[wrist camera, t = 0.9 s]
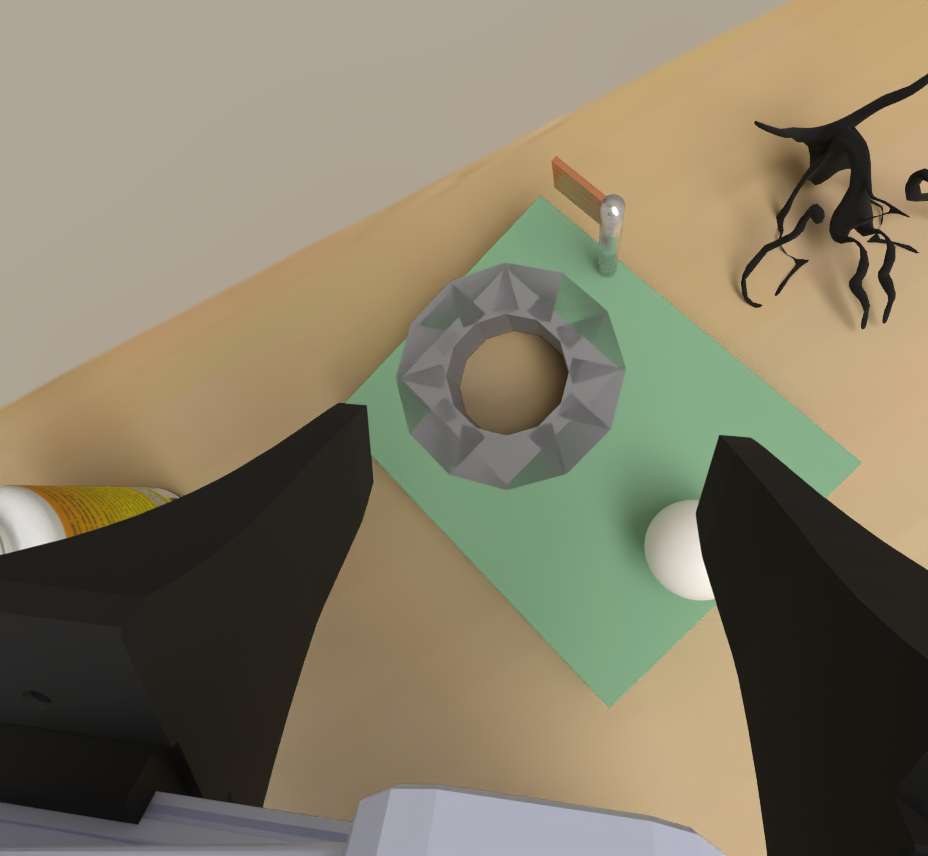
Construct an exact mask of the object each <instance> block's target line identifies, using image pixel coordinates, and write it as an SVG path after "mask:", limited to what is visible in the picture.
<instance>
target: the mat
mask: <svg viewBox="0 0 928 856" xmlns="http://www.w3.org/2000/svg"><path fill="white" fill-rule="evenodd" d="M598 260H599V244H598V243H597V242H596V241H595V240H594V239H592V238H591V237H590V236H589V235H588V234H586V233H585V232H584V231H583V230H582V229H580V228H579V227H578V226H577V225H576V224H574V223H573V222H572V221H571V220H570V219H568V218H567V217H566V216H565V215H564V214H562V213H561V212H560V211H559V210H558V209H556V208H555V207H554V206H553V205H552V204H550V203H549V202H548V201H547V200H546V199H544V198H543V197H542V196H540V197H539V198H538V199H537V200H536V201H535V202H534V203H533V204H532V205H531V206H530V207H529V209H528V210H527V211H526V212H525V213H524V214H523V215H522V216H521V217H520V218H519V219H518V220H517V221H516V222H515V223H514V224H513V225H512V227H511V228H510V229H509V230H508V231H507V232H506V233H505V234H504V235H503V236H502V237H501V238H500V239H499V240H498V241H497V242H496V244H495V245H494V246H493V247H492V248H491V249H490V250H489V251H488V252H487V253H486V254H485V255H484V256H483V257H482V258H481V259H480V260H479V262H478V263H477V264H476V265H475V266H474V267H473V268H472V269H471V270H470V271H469V272H468V273H467V274H466V275H465V276H464V277H461V278H458V279H455V280H452V281H450V282H449V283H448V284H447V285H446V286H445V287H444V288H443V290H442V291H441V292H440V293H439V294H438V295H437V296H436V297H435V298H434V299H433V300H432V301H431V302H430V303H429V304H428V305H427V306H426V308H425V309H424V310H423V311H422V312H421V313H420V314H419V315H418V316H417V317H416V318H415V319H414V320H413V321H412V322H411V324H410V328H409V331H408V335H407V338H406V339H405V340H404V341H403V342H402V343H401V344H400V345H399V346H398V347H397V348H396V350H395V351H394V352H393V353H392V354H391V355H390V356H389V357H388V358H387V359H386V360H385V361H384V362H383V363H382V364H381V365H380V367H379V368H378V369H377V370H376V371H375V372H374V373H373V374H372V375H371V376H370V377H369V378H368V379H367V380H366V381H365V382H364V383H363V385H362V386H361V387H360V388H359V389H358V390H357V391H356V392H355V393H354V394H353V395H352V396H351V397H350V398H349V399H348V400H347V402H346V403H347V404H359V405H367V412H368V424H369V436H370V447H371V455H372V457H373V458H374V459H375V460H376V461H377V462H378V463H379V464H380V465H381V466H382V467H383V468H384V469H385V470H386V471H387V473H388V474H389V475H390V476H391V477H392V478H393V479H394V480H395V481H396V482H397V483H398V484H399V485H400V486H401V487H402V488H403V490H404V491H405V492H406V493H407V494H408V495H409V496H410V497H411V498H412V499H413V500H414V501H415V502H416V503H417V504H418V505H419V507H420V508H421V509H422V510H423V511H424V512H425V513H426V514H427V515H428V516H429V517H430V518H431V519H432V520H433V521H434V523H435V524H436V525H437V526H438V527H439V528H440V529H441V530H442V531H443V532H444V533H445V534H446V535H447V536H448V537H449V538H450V540H451V541H452V542H453V543H454V544H455V545H456V546H457V547H458V548H459V549H460V550H461V551H462V552H463V553H464V554H465V555H466V557H467V558H468V559H469V560H470V561H471V562H472V563H473V564H474V565H475V566H476V567H477V568H478V569H479V570H480V571H481V573H482V574H483V575H484V576H485V577H486V578H487V579H488V580H489V581H490V582H491V583H492V584H493V585H494V586H495V587H496V588H497V590H498V591H499V592H500V593H501V594H502V595H503V596H504V597H505V598H506V599H507V600H508V601H509V602H510V603H511V604H512V605H513V607H514V608H515V609H516V610H517V611H518V612H519V613H520V614H521V615H522V616H523V617H524V618H525V619H526V620H527V621H528V623H529V624H530V625H531V626H532V627H533V628H534V629H535V630H536V631H537V632H538V633H539V634H540V635H541V636H542V637H543V638H544V640H545V641H546V642H547V643H548V644H549V645H550V646H551V647H552V648H553V649H554V650H555V651H556V652H557V653H558V654H559V655H560V657H561V658H562V659H563V660H564V661H565V662H566V663H567V664H568V665H569V666H570V667H571V668H572V669H573V670H574V671H575V673H576V674H577V675H578V676H579V677H580V678H581V679H582V680H583V681H584V682H585V683H586V684H587V685H588V686H589V687H590V688H591V690H592V691H593V692H594V693H595V694H596V695H597V696H598V697H599V698H600V699H601V700H602V701H603V702H604V703H605V704H606V705H607V707H608V708H610V707H611V706H612V705H613V704H614V703H615V702H616V701H617V700H618V699H619V698H620V697H621V696H622V695H623V694H624V693H625V692H626V691H627V690H628V689H629V688H630V687H631V686H632V685H633V684H634V683H636V682H637V681H638V680H639V679H640V678H641V677H642V676H643V675H644V674H645V673H646V672H647V671H648V670H649V669H650V668H651V667H652V666H653V665H654V664H655V663H656V662H657V661H658V660H659V659H660V658H661V657H662V656H663V655H664V654H665V653H666V652H668V651H669V650H670V649H671V648H672V647H673V646H674V645H675V644H676V643H677V642H678V641H679V640H680V639H681V638H682V637H683V636H684V635H685V634H686V633H687V632H688V631H689V630H690V629H691V628H692V627H693V626H694V625H695V624H696V623H697V622H698V621H699V620H701V619H702V618H703V617H704V616H705V615H706V614H707V613H708V612H709V611H710V610H711V609H712V608H713V607H714V606H715V605H716V601H715V599H712V600H702V601H698V600H691V599H686V598H683V597H680V596H678V595H676V594H674V593H672V592H671V591H669V590H668V589H666V588H665V587H664V586H663V585H661V584H660V583H659V582H658V580H657V579H656V578H655V577H654V575H653V574H652V572H651V570H650V568H649V566H648V564H647V561H646V556H645V550H644V542H645V536H646V532H647V529H648V527H649V525H650V523H651V522H652V520H653V519H654V517H655V516H656V515H657V514H658V513H659V512H660V511H661V510H663V509H664V508H666V507H667V506H669V505H671V504H673V503H676V502H679V501H684V500H693V499H694V500H700V497H701V493H702V490H703V487H704V483H705V480H706V477H707V474H708V470H709V467H710V464H711V460H712V457H713V454H714V450H715V447H716V444H717V441H718V437H719V435H727V436H739V437H751V438H753V439H754V440H755V441H757V442H758V443H759V444H761V445H762V446H763V447H765V448H766V449H767V450H768V451H769V452H771V453H772V454H773V455H774V456H775V457H777V458H778V459H779V460H780V461H781V462H783V463H784V464H785V465H786V466H787V467H789V468H790V469H791V470H792V471H793V472H794V473H796V474H797V475H798V476H799V477H800V478H802V479H803V480H804V481H805V482H806V483H808V484H809V485H810V486H811V487H812V488H814V489H815V490H816V491H817V492H818V493H820V494H821V495H822V496H823V497H825V498H826V497H827V496H828V495H829V494H831V493H832V492H833V491H834V490H835V489H836V488H837V487H838V486H839V485H840V484H841V483H842V482H843V481H844V480H845V479H846V478H847V477H848V476H849V475H850V474H851V473H852V472H853V471H854V470H855V469H856V468H857V467H858V466H859V465H860V464H861V463H862V462H861V461H859V460H858V459H857V458H856V457H855V456H853V455H852V454H851V453H850V452H849V451H847V450H846V449H845V448H844V447H843V446H841V445H840V444H839V443H838V442H837V441H835V440H834V439H833V438H832V437H831V436H829V435H828V434H827V433H826V432H825V431H823V430H822V429H821V428H820V427H819V426H817V425H816V424H815V423H814V422H813V421H811V420H810V419H809V418H808V417H807V416H805V415H804V414H803V413H802V412H800V411H799V410H798V409H797V408H796V407H794V406H793V405H792V404H791V403H790V402H788V401H787V400H786V399H785V398H784V397H782V396H781V395H780V394H779V393H778V392H776V391H775V390H774V389H773V388H772V387H770V386H769V385H768V384H767V383H766V382H764V381H763V380H762V379H761V378H760V377H758V376H757V375H756V374H755V373H754V372H752V371H751V370H750V369H749V368H748V367H746V366H745V365H744V364H743V363H742V362H740V361H739V360H738V359H737V358H736V357H734V356H733V355H732V354H731V353H730V352H728V351H727V350H726V349H725V348H724V347H722V346H721V345H720V344H719V343H718V342H716V341H715V340H714V339H713V338H712V337H710V336H709V335H708V334H707V333H706V332H704V331H703V330H702V329H701V328H699V327H698V326H697V325H696V324H695V323H693V322H692V321H691V320H690V319H689V318H687V317H686V316H685V315H684V314H683V313H681V312H680V311H679V310H678V309H677V308H675V307H674V306H673V305H672V304H671V303H669V302H668V301H667V300H666V299H665V298H663V297H662V296H661V295H660V294H659V293H657V292H656V291H655V290H654V289H653V288H651V287H650V286H649V285H648V284H647V283H645V282H644V281H643V280H642V279H641V278H639V277H638V276H637V275H636V274H635V273H633V272H632V271H631V270H630V269H629V268H627V267H626V266H625V265H624V264H623V263H621V262H620V261H619V260H618V266H617V271H616V273H615V275H613V276H612V277H608V278H606V277H603V276H601V275H600V274H599V271H598ZM513 330H514V331H519V332H524V333H529V334H533V335H538V336H542V337H543V338H544V339H545V340H546V341H547V342H549V343H550V344H551V345H552V346H553V347H554V348H555V349H556V350H557V351H558V352H560V353H561V354H562V355H563V358H564V361H565V365H566V368H567V371H568V378H567V382H566V385H565V389H564V393H563V397H562V401H561V403H560V404H559V405H558V407H557V408H556V409H555V410H554V411H553V412H552V413H551V414H550V415H549V416H548V417H547V418H546V419H545V420H544V421H543V422H542V423H541V424H540V425H539V426H538V427H534V428H531V429H528V430H524V431H521V432H517V433H514V434H510V435H503V434H499V433H495V432H491V431H486V430H482V429H481V428H480V427H479V426H478V425H477V424H476V423H475V422H474V421H473V420H472V419H471V418H470V417H469V416H468V415H467V414H466V411H465V407H464V404H463V400H462V396H461V392H460V389H459V386H460V382H461V378H462V374H463V371H464V367H465V363H466V360H467V359H468V358H469V357H470V356H471V354H472V353H473V352H474V351H475V350H476V349H477V348H478V347H479V346H480V345H481V344H482V343H483V342H484V341H485V340H486V339H488V338H491V337H494V336H498V335H501V334H504V333H507V332H510V331H513Z"/></svg>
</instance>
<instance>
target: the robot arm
mask: <svg viewBox="0 0 928 856" xmlns="http://www.w3.org/2000/svg"><path fill="white" fill-rule="evenodd" d="M372 485H373V471H372V459H371V447H370V436H369V424H368V412H367V405H359V404H347V403H338V404H336V405H335V406H333V407H332V408H330V409H328V410H327V411H325V412H324V413H323V414H321V415H320V416H318V417H317V418H315V419H314V420H312V421H311V422H310V423H308V424H307V425H305V426H304V427H302V428H301V429H299V430H298V431H296V432H295V433H294V434H292V435H291V436H289V437H288V438H286V439H285V440H283V441H282V442H280V443H279V444H277V445H276V446H274V447H273V448H271V449H269V450H268V451H266V452H264V453H263V454H261V455H260V456H258V457H256V458H255V459H253V460H251V461H250V462H248V463H246V464H245V465H243V466H241V467H240V468H238V469H236V470H235V471H233V472H231V473H229V474H227V475H226V476H224V477H222V478H220V479H218V480H216V481H214V482H212V483H210V484H208V485H206V486H204V487H202V488H200V489H198V490H196V491H194V492H192V493H189V494H187V495H185V496H183V497H180V498H178V499H176V500H173V501H171V502H168V503H166V504H163V505H161V506H158V507H156V508H154V509H151V510H149V511H146V512H144V513H141V514H139V515H136V516H133V517H131V518H128V519H125V520H122V521H119V522H116V523H113V524H111V525H108V526H105V527H101V528H98V529H95V530H92V531H89V532H85V533H82V534H79V535H76V536H72V537H69V538H65V539H62V540H58V541H54V542H50V543H46V544H42V545H38V546H34V547H30V548H26V549H22V550H19V551H15V552H11V553H6V554H2V555H0V856H726V855H725V854H723V853H722V852H721V851H720V850H719V849H717V848H716V847H715V846H714V845H712V844H711V843H710V842H709V841H707V840H706V839H705V838H703V837H702V836H701V835H700V834H698V833H697V832H696V831H694V830H693V829H692V828H690V827H687V826H684V825H680V824H677V823H673V822H670V821H666V820H663V819H659V818H656V817H652V816H649V815H643V814H636V813H629V812H622V811H616V810H609V809H602V808H595V807H589V806H582V805H575V804H568V803H562V802H555V801H548V800H542V799H535V798H528V797H521V796H515V795H508V794H501V793H494V792H488V791H481V790H474V789H467V788H461V787H454V786H447V785H440V784H397V785H394V786H391V787H389V788H386V789H384V790H381V791H379V792H376V793H373V794H371V795H369V796H367V797H366V798H364V799H362V800H361V801H360V803H359V805H358V808H357V810H356V813H355V815H354V818H353V820H352V822H349V821H343V820H336V819H330V818H324V817H317V816H311V815H304V814H298V813H292V812H285V811H279V810H273V809H266V808H263V804H264V800H265V796H266V792H267V789H268V785H269V781H270V777H271V773H272V769H273V765H274V762H275V758H276V755H277V751H278V748H279V744H280V741H281V737H282V734H283V730H284V727H285V723H286V719H287V716H288V712H289V709H290V706H291V703H292V699H293V696H294V693H295V690H296V686H297V683H298V680H299V676H300V673H301V670H302V667H303V664H304V661H305V658H306V655H307V651H308V648H309V645H310V642H311V639H312V636H313V633H314V630H315V627H316V624H317V622H318V619H319V617H320V614H321V612H322V609H323V607H324V604H325V602H326V600H327V598H328V596H329V593H330V591H331V589H332V587H333V585H334V582H335V580H336V578H337V576H338V574H339V571H340V569H341V567H342V565H343V563H344V560H345V558H346V556H347V554H348V552H349V549H350V547H351V545H352V543H353V540H354V538H355V536H356V534H357V531H358V529H359V527H360V525H361V522H362V519H363V516H364V513H365V510H366V506H367V503H368V500H369V496H370V492H371V489H372ZM695 514H696V521H697V528H698V535H699V542H700V547H701V553H702V558H703V562H704V565H705V568H706V572H707V575H708V578H709V582H710V585H711V588H712V591H713V595H714V598H715V601H716V604H717V607H718V610H719V614H720V617H721V620H722V623H723V626H724V630H725V633H726V636H727V639H728V642H729V645H730V649H731V652H732V655H733V659H734V663H735V667H736V670H737V674H738V678H739V683H740V689H741V694H742V699H743V704H744V709H745V714H746V719H747V725H748V730H749V736H750V742H751V748H752V754H753V760H754V766H755V772H756V778H757V784H758V791H759V798H760V805H761V812H762V819H763V826H764V833H765V840H766V848H767V856H928V570H927V569H925V568H924V567H922V566H920V565H919V564H917V563H916V562H914V561H913V560H911V559H909V558H908V557H906V556H905V555H903V554H902V553H900V552H898V551H897V550H895V549H894V548H892V547H891V546H889V545H888V544H886V543H885V542H883V541H882V540H881V539H879V538H878V537H876V536H875V535H873V534H872V533H871V532H869V531H868V530H867V529H865V528H864V527H863V526H861V525H860V524H858V523H857V522H856V521H854V520H853V519H852V518H850V517H849V516H848V515H846V514H845V513H844V512H842V511H841V510H840V509H839V508H837V507H836V506H835V505H833V504H832V503H831V502H830V501H828V500H827V499H826V498H825V497H823V496H822V495H821V494H820V493H818V492H817V491H816V490H815V489H814V488H812V487H811V486H810V485H809V484H808V483H806V482H805V481H804V480H803V479H802V478H800V477H799V476H798V475H797V474H796V473H794V472H793V471H792V470H791V469H790V468H789V467H787V466H786V465H785V464H784V463H783V462H781V461H780V460H779V459H778V458H777V457H775V456H774V455H773V454H772V453H771V452H769V451H768V450H767V449H766V448H765V447H763V446H762V445H761V444H759V443H758V442H757V441H755V440H754V439H753V438H751V437H739V436H727V435H719V437H718V441H717V444H716V447H715V450H714V454H713V457H712V460H711V464H710V467H709V470H708V474H707V477H706V480H705V483H704V487H703V490H702V493H701V497H700V500H699V503H698V507H697V510H696V513H695Z"/></svg>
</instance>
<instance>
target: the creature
mask: <svg viewBox="0 0 928 856" xmlns="http://www.w3.org/2000/svg"><path fill="white" fill-rule="evenodd" d="M927 84H928V74H927V75H925V76H924V77H922V78H921V79H919V80H918V81H916V82H914V83H913V84H911V85H910V86H908V87H905V88H902V89H900V90H897V91H894V92H892V93H889V94H886V95H884V96H882V97H880V98H878V99H876V100H875V101H873V102H871V103H869V104H868V105H866V106H864V107H862V108H861V109H859V110H857V111H855V112H854V113H852V114H850V115H848V116H846V117H844V118H842V119H840V120H838V121H835V122H833V123H830V124H827V125H824V126H820V127H814V128H794V127H792V128H786V129H779V128H775V127H771V126H768V125H765V124H763V123H760V122H757V121H755V122H754V123H755V125H756V126H758V127H759V128H761V129H763V130H765V131H767V132H769V133H772V134H775V135H777V136H781V137H784V138H793V139H794V140H795V141H796V142H804V143H805V144H806V145H807V146H808V149H809V153H810V167H809V169H808V170H807V171H806V173H805V174H804V176H803V177H802V179H801V180H800V182H799V183H798V185H797V186H796V188H795V189H794V191H793V193H792V194H791V196H790V198H789V199H788V201H787V203H786V204H785V206H784V207H783V208H782V210H781V211H780V213H779V214H778V216H777V224H778V228H779V231H780V236H779V239H778V240H776V241H774V242H771V243H769V244H767V245H765V246H764V247H763V248H762V249H761V250H760V251H759V252H758V254H757V255H756V256H755V257H754V258H753V259H752V260H751V261H750V263H749V264H748V265H747V266H746V269H745V271H744V273H743V275H742V280H741V287H742V294H743V297H744V299H745V300H746V302H747V303H749V304H750V305H752V306H753V307H756V308H758V307H761V306H762V305H760V304H757V303H753V302H752V301H751V300H750V299H749V298H748V297H747V289H746V280H745V279H746V278H747V277H748V276H749V274H750V273H751V272H752V271H753V269H754V268H755V267H756V266H757V264H758V263H759V262H760V261H761V259H762V258H763V257H764V256H765V254H766V253H767V252H768V251H770V250H772V249H774V248H776V247H778V246H781V245H783V244H785V243H787V242H789V241H791V240H793V239H795V238H796V237H797V236H798V235H800V234H801V233H802V232H803V231H804V229H805V226H806V223H807V221H808V219H809V218H810V217H811V219H812V220H813V221H814V222H815V223H816V224H819V223H821V222H823V219H824V217H825V216H824V210H823V209H822V208H821V207H820V206H819V205H818V203H817V204H814V205H812V206H811V207H810V208H809V209H808V210H807V211H806V212H805V214H804V215H803V216H802V217H801V218H800V220H799V221H798V223H797V225H796V227H795V229H794V230H793V231H792V232H791V233H790V234H788V235H786V236H784V237H782V234H783V231H784V230H783V221H784V218H785V217H786V215H787V214H788V212H789V210H790V208H791V205H792V203H793V200H794V198H795V196H796V195H797V193H798V191H799V190H800V188H801V187H802V185H803V184H804V183H805V182H806V180H810V181H811V182H812V183H813V184H815V185H817V184H821V183H822V182H824V181H826V180H828V179H829V178H830V177H831V176H833V175H834V174H835V173H837V172H838V171H841V170H844V169H851V176H850V186H849V188H848V190H847V192H846V194H845V195H844V197H843V199H842V201H841V202H840V204H839V205H838V207H837V208H836V210H835V211H834V213H833V216H832V218H831V221H830V229H829V231H830V234H831V237H832V239H833V240H834V241H835V242H838V243H840V244H843V243H847V242H855V243H856V244H857V245H858V246H859V248H860V257H861V258H860V261H859V265H858V268H857V272H856V274H855V275H854V276H853V277H852V278H851V280H850V281H849V287H850V290H851V291H852V293H853V294H854V295H855V296H856V297H857V298H858V299H859V301H860V302H861V305H862V307H863V310H864V314H863V318H862V322H861V328H862V329H865V327H866V324H867V319H868V311H869V307H870V305H869V300H868V297H867V294H866V292H865V291H864V289H863V288H862V280H863V278H864V277H865V275H866V273H867V270H868V266H869V262H868V255H867V251H866V250H865V249H864V247H863V246H862V245H861V243H860V242H859V241H857V240H855V239H854V238H852V237H848V234H849V232H850V230H852V229H853V228H854V229H855V230H856V231H857V232H858V233H860V234H861V235H862V236H868V235H872V234H875V235H874V236H873V237H872V238H871V239H870V240H869V241H867V242H879V243H886V244H887V250H886V254H885V259H884V263H883V266H882V267H881V269H880V270H879V272H878V279H879V282H880V284H881V286H882V287H883V289H884V290H885V292H886V294H887V295H888V303H887V306H886V308H885V310H884V315H883V320H882V321H883V323H886V321H887V320H888V317H889V314H890V311H891V307H892V304H893V302H894V300H895V296H896V293H895V289H894V285H893V281H892V279H891V277H890V275H889V273H890V271H891V268H892V266H893V263H894V261H895V246H894V244H895V245H899V246H901V247H903V248H905V249H907V250H909V251H912V252H914V253H919V252H917V250H915V249H914V248H912V247H911V246H909V245H904V244H900V243H896V242H892V241H891V240H890V238H889V237H888V236H887V235H886V234H884V233H883V232H882V231H881V230H879V229H874V227H873V218H875V217H878V216H874V217H873V212H872V206H871V203H872V204H875V205H877V206H879V207H880V208H881V210H882V215H879V216H882V219H881V224H882V221H883V215H885V214H890V213H896V214H901V215H904V216H906V217H909V216H908V215H906V214H905V213H903V212H901V211H900V210H898V209H897V208H895V207H894V206H892V205H890V204H889V203H887V202H886V201H883V200H881V199H878V198H876V197H874V195H873V193H872V183H871V161H870V153H869V149H868V146H867V143H866V141H865V140H864V138H863V137H862V136H861V134H860V133H859V132H858V131H857V129H856V128H855V126H856V125H858V124H859V123H861V122H862V121H863V120H865V119H866V118H868V117H869V116H871V115H872V114H874V113H875V112H877V111H878V110H880V109H882V108H884V107H886V106H889V105H891V104H894V103H896V102H899V101H901V100H903V99H905V98H907V97H909V96H911V95H913V94H914V93H916V92H917V91H919V90H920V89H922V88H923V87H924V86H925V85H927ZM923 180H924V181H927V182H928V169H922V170H919V171H917V172H915V173H913V174H912V175H911V176H910V177H909V179H908V182H907V183H906V186H905V193H906V199H907V200H908V201H915V202H916V201H928V193H923V194H922V193H921V190H920V185H919V184H920V183H921V182H922V181H923ZM870 198H871V199H873V200H876V201H880V202H882V203H884V204H886V205H887V206H889V207H890V210H889V212H887V213H884V214H883V207H882V206H881V205H879V204H878V203H876V202H874V201H873V200H871V199H870ZM878 234H882V235H883V236H884V237H885V240H883V239H880V238H879V236H878ZM781 248H782V246H781ZM782 250H783V251H784V252H785V250H784V249H783V248H782ZM785 253H786V252H785ZM786 254H787V253H786ZM787 255H788V254H787ZM788 256H789V255H788ZM790 257H791V256H790ZM792 258H793V259H794V260H795V262H796V263H797V265H796V266H795V268H794V269H793V270H792V272H791V273H790V274H789V275H788V276H787V278H786V279H785V280H784V281H783V283H782V284H781V285H780V286H779V288H778V290H777V291H776V293H775V296H777V295H778V294H779V293H780V292H781V290H782V289H783V287H784V285H785V284H786V282H787V281H788V279H789V278H790V277H791V276H792V275H793V274H794V273H795V272H796V271H797V270H798V269H799V268H800V267H801V266H802V265H803V264H805V263H807V262H808V260H804V259H795V258H794V257H792Z"/></svg>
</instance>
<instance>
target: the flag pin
mask: <svg viewBox="0 0 928 856" xmlns="http://www.w3.org/2000/svg"><path fill="white" fill-rule="evenodd" d="M552 169H553V178H554V186H555V188H556V189H557V190H558V191H560V192H561V193H562V194H563V195H565V196H566V197H567V198H568V199H569V200H571V201H572V202H573V203H574V204H575V205H577V206H578V207H579V208H580V209H582V210H583V211H584V212H585V213H586V214H588V215H589V216H590V217H591V218H593V219H594V220H595V221H596V222H597V223H599V224H600V234H599V260H598V271H599V274H600V275H601V276H603V277H606V278H608V277H612V276H613V275H615V273H616V271H617V266H618V258H619V250H620V241H621V233H622V225H623V217H624V209H625V202H624V200H623V198H622V197H620V196H619V195H609V196H605V195H604V194H603V193H602V192H600V191H599V190H598V189H597V188H595V187H594V186H593V185H592V184H590V183H589V182H588V181H587V180H585V179H584V178H583V177H582V176H580V175H579V174H578V173H577V172H576V171H574V170H573V169H572V168H571V167H569V166H568V165H567V164H566V163H564V162H563V161H562V160H561V159H559V158H558V157H557V156H556V157H555V158H554V159H553V160H552Z"/></svg>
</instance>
